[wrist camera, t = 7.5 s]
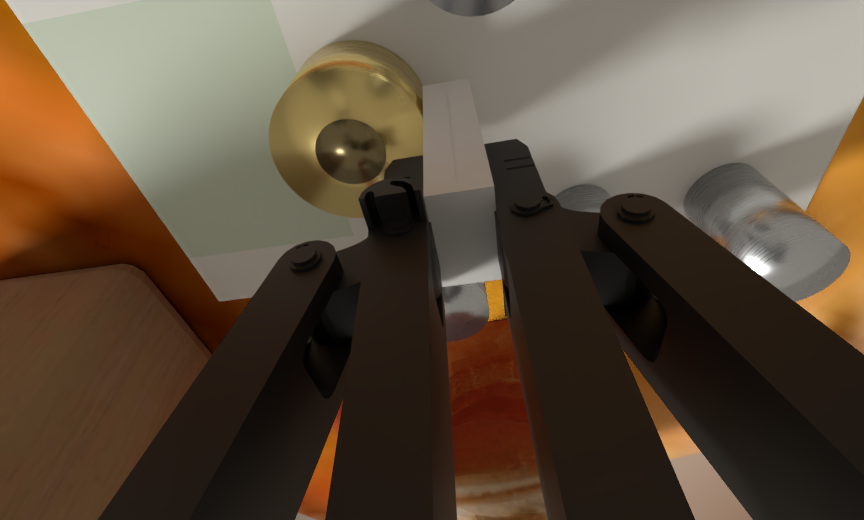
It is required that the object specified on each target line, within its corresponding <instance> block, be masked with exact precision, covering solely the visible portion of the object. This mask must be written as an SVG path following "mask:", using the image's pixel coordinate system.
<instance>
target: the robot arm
mask: <svg viewBox="0 0 864 520" xmlns="http://www.w3.org/2000/svg"><path fill="white" fill-rule="evenodd" d="M358 200H359V203H360V206H361V209H362V212H363V215H364V218H365V221H366V224H367V227H368V237H367V238H366V239H364V240H363V241H361V242H360V243H357V244H355V245H353V246H350V247H348V248H345V249H342V250H339V251H337V252H336V250H335V248H334V246H333V245H331V244H330V243H329V242H326V241H321V240H314V241H307V242H304V243H301V244H298V245H296V246H294V247H293V248H291V249H289V250H288V251H286V252H285V253H284V254H283V255H282V256H281V257H280V258H279V259H278V261H277V262H276V264H275V265H274V267H273V268H272V270H271V271H270V272H269V274H268V275H267V277H266V278H265V280H264V281H263V282H262V284H261V285H260V287H259V288H258V290H257V291H256V293H255V294H254V295H253V297H252V298H251V300H250V301H249V303H248V304H247V306H246V307H245V308H244V310H243V311H242V313H241V314H240V316H239V317H238V318H237V320H236V321H235V323H234V324H233V326H232V327H231V329H230V330H229V331H228V333H227V334H226V336H225V337H224V339H223V340H222V341H221V343H220V344H219V346H218V347H217V349H216V350H215V352H214V353H213V354H212V356H211V357H210V359H209V360H208V362H207V363H206V364H205V366H204V367H203V369H202V370H201V372H200V373H199V375H198V376H197V377H196V379H195V380H194V382H193V383H192V385H191V386H190V388H189V389H188V390H187V392H186V393H185V395H184V396H183V398H182V399H181V400H180V402H179V403H178V405H177V406H176V408H175V409H174V411H173V412H172V413H171V415H170V416H169V418H168V419H167V421H166V422H165V423H164V425H163V426H162V428H161V429H160V431H159V432H158V434H157V435H156V436H155V438H154V439H153V441H152V442H151V444H150V445H149V447H148V448H147V449H146V451H145V452H144V454H143V455H142V457H141V458H140V459H139V461H138V462H137V464H136V465H135V467H134V468H133V470H132V471H131V472H130V474H129V475H128V477H127V478H126V480H125V481H124V482H123V484H122V485H121V487H120V488H119V490H118V491H117V493H116V494H115V495H114V497H113V498H112V500H111V501H110V503H109V504H108V505H107V507H106V508H105V510H104V511H103V513H102V514H101V516H100V517H99V518H98V520H295V518H296V515H297V513H298V510H299V508H300V505H301V503H302V500H303V498H304V495H305V493H306V490H307V488H308V485H309V483H310V480H311V478H312V475H313V473H314V470H315V468H316V465H317V463H318V460H319V458H320V455H321V453H322V450H323V448H324V445H325V443H326V440H327V438H328V435H329V433H330V430H331V428H332V425H333V423H334V420H335V418H336V415H337V413H338V410H339V408H340V405H341V403H342V400H343V405H342V411H341V418H340V425H339V432H338V438H337V445H336V452H335V458H334V465H333V472H332V479H331V485H330V492H329V499H328V506H327V512H326V519H325V520H457V507H456V490H455V473H454V456H453V439H452V422H451V405H450V388H449V371H448V354H447V337H446V320H445V303H444V298H443V293H442V289H441V282H442V287H447V286H454V285H462V284H470V283H477V282H485V281H493V280H500V279H502V282H503V294H504V307H505V316H508V320H509V325H510V330H511V335H512V341H513V346H514V351H515V356H516V361H517V366H518V371H519V376H520V381H521V386H522V391H523V397H524V402H525V407H526V412H527V417H528V422H529V427H530V432H531V437H532V442H533V447H534V453H535V458H536V463H537V468H538V473H539V478H540V483H541V488H542V493H543V498H544V503H545V509H546V514H547V519H548V520H695V518H694V516H693V514H692V511H691V509H690V507H689V504H688V502H687V500H686V498H685V495H684V493H683V490H682V488H681V486H680V484H679V481H678V479H677V476H676V474H675V472H674V469H673V467H672V465H671V462H670V460H669V458H668V455H667V453H666V450H665V448H664V446H663V443H662V441H661V439H660V436H659V434H658V432H657V429H656V427H655V425H654V422H653V420H652V418H651V415H650V413H649V411H648V408H647V406H646V404H645V401H644V399H643V397H642V394H641V392H640V390H639V387H638V385H637V383H636V380H635V378H634V376H633V373H632V371H631V369H630V366H629V364H628V362H627V359H626V357H625V355H624V352H623V350H624V351H625V353H626V354H627V355H628V357H629V358H630V359H631V360H632V362H633V363H634V364H635V366H636V367H637V368H638V370H639V371H640V372H641V374H642V375H643V376H644V377H645V379H646V380H647V381H648V383H649V384H650V385H651V387H652V388H653V389H654V391H655V392H656V393H657V394H658V396H659V397H660V398H661V400H662V401H663V402H664V404H665V405H666V406H667V408H668V409H669V410H670V412H671V413H672V414H673V415H674V417H675V418H676V419H677V421H678V422H679V423H680V425H681V426H682V427H683V429H684V430H685V431H686V432H687V434H688V435H689V436H690V438H691V439H692V440H693V442H694V443H695V444H696V446H697V447H698V448H699V449H700V451H701V452H702V453H703V455H704V456H705V457H706V459H707V460H708V461H709V463H710V464H711V465H712V466H713V468H714V469H715V470H716V472H717V473H718V474H719V476H720V477H721V478H722V480H723V481H724V482H725V483H726V485H727V486H728V487H729V489H730V490H731V491H732V492H733V494H734V495H735V497H736V498H737V499H738V500H739V502H740V503H741V504H742V506H743V507H744V508H745V510H746V511H747V512H748V514H749V515H750V516H751V517H752V519H753V520H864V355H863V354H862V353H861V352H859V351H858V350H857V349H855V348H854V347H853V346H852V345H850V344H849V343H848V342H846V341H845V340H844V339H842V338H841V337H840V336H839V335H837V334H836V333H835V332H833V331H832V330H831V329H829V328H828V327H827V326H826V325H824V324H823V323H822V322H820V321H819V320H818V319H816V318H815V317H814V316H813V315H811V314H810V313H809V312H807V311H806V310H805V309H803V308H802V307H801V306H800V305H798V304H797V303H796V302H794V301H793V300H792V299H791V298H789V297H788V296H787V295H785V294H784V293H783V292H781V291H780V290H779V289H778V288H776V287H775V286H774V285H772V284H771V283H770V282H768V281H767V280H766V279H765V278H763V277H762V276H761V275H759V274H758V273H757V272H755V271H754V270H753V269H752V268H750V267H749V266H748V265H746V264H745V263H744V262H742V261H741V260H740V259H739V258H737V257H736V256H735V255H733V254H732V253H731V252H729V251H728V250H727V249H726V248H724V247H723V246H722V245H720V244H719V243H718V242H716V241H715V240H714V239H713V238H711V237H710V236H709V235H707V234H706V233H705V232H703V231H702V230H701V229H700V228H698V227H697V226H696V225H694V224H693V223H692V222H691V221H689V220H688V219H687V218H685V217H684V216H683V215H681V214H680V213H679V212H678V211H676V210H675V209H674V208H672V207H671V206H670V205H668V204H667V203H666V202H664V201H662V200H660V199H658V198H657V197H654V196H650V195H646V194H641V193H626V194H620V195H615V196H613V197H611V198H609V199H607V200H606V201H605V202H604V203H603V204H602V205H601V207H600V213H598V212H581V211H574V210H569V209H566V208H563V207H561V205H560V203H559V201H558V200H557V199H556V198H555V196H553V195H551V194H549V193H547V192H546V190H545V188H544V185H543V183H542V180H541V178H540V175H539V173H538V170H537V168H536V166H535V163H534V161H533V158H532V156H531V153H530V151H529V148H528V146H527V145H525V144H524V143H522V142H521V141H519V140H518V139H512V140H506V141H499V142H493V143H487V144H484V142H483V138H482V133H481V129H480V125H479V121H478V117H477V113H476V108H475V104H474V100H473V96H472V92H471V88H470V84H469V79H468V78H466V79H460V80H454V81H449V82H443V83H437V84H432V85H426V86H423V155H421V156H415V157H408V158H402V159H396V160H393V161H392V162H391V163H390V164H389V166H388V167H387V168H386V169H385V174H384V180H381V181H378V182H376V183H374V184H372V185H370V186H369V187H367V188H366V189H365V190H364V191H363V192H362V193H361V195H360V197H359V199H358ZM501 275H502V277H501ZM621 347H622V348H621ZM622 349H623V350H622Z"/></svg>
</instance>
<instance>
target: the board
mask: <svg viewBox="0 0 864 520" xmlns="http://www.w3.org/2000/svg"><path fill="white" fill-rule="evenodd" d="M5 1H6V2H7V4H8V5H9V6H10V8H11V9H12V11H13V12H14V13H15V15H16V16H17V18H18V19H19V21H20V22H21V23H22V25H23V26H24V28H25V29H26V30H27V32H28V33H29V35H30V36H31V37H32V39H33V40H34V42H35V43H36V44H37V46H38V47H39V49H40V50H41V51H42V53H43V54H44V56H45V57H46V59H47V60H48V61H49V63H50V64H51V66H52V67H53V68H54V70H55V71H56V73H57V74H58V75H59V77H60V78H61V80H62V81H63V82H64V84H65V85H66V87H67V88H68V89H69V91H70V92H71V94H72V95H73V97H74V98H75V99H76V101H77V102H78V104H79V105H80V106H81V108H82V109H83V111H84V112H85V113H86V115H87V116H88V118H89V119H90V120H91V122H92V123H93V125H94V126H95V128H96V129H97V130H98V132H99V133H100V135H101V136H102V137H103V139H104V140H105V142H106V143H107V144H108V146H109V147H110V149H111V150H112V151H113V153H114V154H115V156H116V157H117V158H118V160H119V161H120V163H121V164H122V166H123V167H124V168H125V170H126V171H127V173H128V174H129V175H130V177H131V178H132V180H133V181H134V182H135V184H136V185H137V187H138V188H139V189H140V191H141V192H142V194H143V195H144V197H145V198H146V199H147V201H148V202H149V204H150V205H151V206H152V208H153V209H154V211H155V212H156V213H157V215H158V216H159V218H160V219H161V220H162V222H163V223H164V225H165V226H166V227H167V229H168V230H169V232H170V233H171V235H172V236H173V237H174V239H175V240H176V242H177V243H178V244H179V246H180V247H181V249H182V250H183V251H184V253H185V254H186V256H187V257H188V258H189V260H190V261H191V263H192V264H193V266H194V267H195V268H196V270H197V271H198V273H199V274H200V275H201V277H202V278H203V280H204V281H205V282H206V284H207V285H208V287H209V288H210V289H211V291H212V292H213V294H214V295H215V296H216V298H217V299H218V301H219V302H221V301H229V300H236V299H244V298H252V297H253V295H254V294H255V293H256V291H257V290H258V288H259V287H260V285H261V284H262V282H263V281H264V280H265V278H266V277H267V275H268V274H269V272H270V271H271V270H272V268H273V267H274V265H275V264H276V262H277V261H278V259H279V258H280V257H281V256H282V255H283V254H284V253H285V252H286V251H288V250H289V249H291V248H293V247H294V246H296V245H298V244H301V243H304V242H307V241H314V240H321V241H326V242H329V243H330V244H331V245H333V246H334V248H335V250H336V252H337V251H339V250H342V249H345V248H348V247H350V246H353V245H355V244H357V243H360V242H361V241H363V240H364V239H366V238H367V237H368V227H367V224H366V221H365V218H350V217H343V216H338V215H334V214H331V213H328V212H325V211H323V210H320V209H319V208H317V207H315V206H313V205H311V204H309V203H308V202H306V201H305V200H303V199H302V198H301V197H300V196H298V195H297V194H296V193H295V192H294V191H293V190H292V189H291V188H290V187H289V186H288V184H287V183H286V182H285V181H284V180H283V178H282V176H281V175H280V173H279V172H278V170H277V168H276V166H275V163H274V161H273V158H272V155H271V151H270V146H269V125H270V120H271V117H272V113H273V111H274V109H275V107H276V104H277V103H278V101H279V100H280V98H281V97H282V95H283V94H284V92H285V91H286V89H287V88H288V86H289V84H290V83H291V81H292V80H293V78H294V77H295V75H296V74H297V72H298V71H299V69H300V68H301V66H302V65H303V63H304V62H305V61H306V60H307V59H308V58H309V57H310V56H311V55H312V54H313V53H315V52H316V51H317V50H319V49H321V48H323V47H325V46H327V45H329V44H332V43H335V42H340V41H345V40H360V41H367V42H371V43H375V44H378V45H381V46H383V47H385V48H387V49H389V50H391V51H393V52H394V53H396V54H397V55H398V56H400V57H401V58H402V59H403V60H404V61H406V62H407V63H408V64H409V65H410V67H411V68H412V69H413V70H414V71H415V73H416V74H417V76H418V77H419V79H420V81H421V83H422V85H423V86H426V85H432V84H437V83H443V82H449V81H454V80H460V79H466V78H468V79H469V84H470V88H471V92H472V96H473V100H474V104H475V108H476V113H477V117H478V121H479V125H480V129H481V133H482V138H483V142H484V144H487V143H493V142H499V141H506V140H512V139H518V140H519V141H521V142H522V143H524V144H525V145H527V146H528V148H529V151H530V153H531V156H532V158H533V161H534V163H535V166H536V168H537V170H538V173H539V175H540V178H541V180H542V183H543V185H544V188H545V190H546V192H547V193H549V194H551V195H553V196H556V195H557V194H559V193H560V192H562V191H563V190H565V189H567V188H570V187H573V186H576V185H583V184H590V185H596V186H599V187H601V188H603V189H604V190H606V191H607V192H608V193H609V195H610V196H611V197H613V196H615V195H620V194H626V193H641V194H646V195H650V196H654V197H657V198H658V199H660V200H662V201H664V202H666V203H667V204H668V205H670V206H671V207H672V208H674V209H675V210H676V211H678V212H679V213H680V214H681V215H683V216H684V217H685V218H687V219H688V220H689V221H691V220H690V219H689V218H688V216H687V215H686V214H685V211H684V207H683V204H684V199H685V196H686V194H687V192H688V190H689V189H690V187H691V186H692V185H693V184H694V183H695V182H696V181H697V180H698V179H699V178H700V177H701V176H703V175H704V174H705V173H707V172H709V171H710V170H712V169H714V168H717V167H719V166H722V165H725V164H730V163H745V164H748V165H750V166H752V167H754V168H755V169H756V170H757V171H758V172H760V173H761V174H762V175H763V176H764V177H765V178H767V179H768V180H769V181H770V182H771V183H772V184H774V185H775V186H776V187H777V188H778V189H780V190H781V191H782V192H783V193H784V194H785V195H787V196H788V197H789V198H790V199H791V200H792V201H794V202H795V203H796V204H797V205H798V206H800V207H801V208H802V209H803V210H804V211H806V209H807V207H808V205H809V203H810V201H811V199H812V197H813V195H814V193H815V191H816V189H817V187H818V185H819V183H820V181H821V179H822V177H823V175H824V173H825V171H826V169H827V168H828V166H829V164H830V162H831V160H832V158H833V156H834V154H835V152H836V150H837V148H838V146H839V144H840V142H841V140H842V138H843V136H844V134H845V132H846V130H847V128H848V126H849V124H850V122H851V120H852V118H853V116H854V114H855V112H856V110H857V109H858V107H859V105H860V103H861V101H862V99H863V97H864V0H515V1H513V2H512V3H511V4H509V5H508V6H506V7H504V8H502V9H501V10H498V11H496V12H494V13H491V14H487V15H483V16H475V17H467V16H459V15H454V14H452V13H449V12H446V11H444V10H442V9H440V8H438V7H437V6H436V5H434V4H433V3H431V2H430V1H429V0H5ZM691 222H692V221H691Z"/></svg>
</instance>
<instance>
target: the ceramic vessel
mask: <svg viewBox="0 0 864 520" xmlns="http://www.w3.org/2000/svg"><path fill="white" fill-rule="evenodd" d="M447 354H448V371H449V388H450V405H451V422H452V439H453V456H454V473H455V490H456V507H457V520H548V519H547V514H546V509H545V503H544V498H543V493H542V488H541V483H540V478H539V473H538V468H537V463H536V458H535V453H534V447H533V442H532V437H531V432H530V427H529V422H528V417H527V412H526V407H525V402H524V397H523V391H522V386H521V381H520V376H519V371H518V366H517V361H516V356H515V351H514V346H513V341H512V335H511V330H510V325H509V320H508V319H504V320H497V321H490V322H487V323H486V324H485V326H484V327H483V328H482V329H481V330H480V331H479V332H478V333H476V334H474V335H473V336H471V337H468V338H466V339H463V340H459V341H452V342H447Z"/></svg>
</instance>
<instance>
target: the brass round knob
mask: <svg viewBox="0 0 864 520" xmlns="http://www.w3.org/2000/svg"><path fill="white" fill-rule="evenodd" d="M269 146H270V151H271V155H272V158H273V161H274V163H275V166H276V168H277V170H278V172H279V173H280V175H281V176H282V178H283V180H284V181H285V182H286V183H287V184H288V186H289V187H290V188H291V189H292V190H293V191H294V192H295V193H296V194H297V195H298V196H300V197H301V198H302V199H303V200H305V201H306V202H308V203H309V204H311V205H313V206H315V207H317V208H319V209H320V210H323V211H325V212H328V213H331V214H334V215H338V216H343V217H350V218H364V215H363V212H362V209H361V206H360V203H359V200H358V199H359V197H360V195H361V193H362V192H363V191H364V190H365V189H366V188H367V187H369V186H370V185H372V184H374V183H376V182H378V181H381V180H384V174H385V169H386V168H387V167H388V166H389V164H390V163H391V162H392V161H393V160H396V159H402V158H408V157H415V156H421V155H423V85H422V83H421V81H420V79H419V77H418V76H417V74H416V73H415V71H414V70H413V69H412V68H411V67H410V65H409V64H408V63H407V62H406V61H404V60H403V59H402V58H401V57H400V56H398V55H397V54H396V53H394V52H393V51H391V50H389V49H387V48H385V47H383V46H381V45H378V44H375V43H371V42H367V41H360V40H345V41H340V42H335V43H332V44H329V45H327V46H325V47H323V48H321V49H319V50H317V51H316V52H315V53H313V54H312V55H311V56H310V57H309V58H308V59H307V60H306V61H305V62H304V63H303V65H302V66H301V68H300V69H299V71H298V72H297V74H296V75H295V77H294V78H293V80H292V81H291V83H290V84H289V86H288V88H287V89H286V91H285V92H284V94H283V95H282V97H281V98H280V100H279V101H278V103H277V104H276V107H275V109H274V111H273V113H272V117H271V120H270V125H269Z"/></svg>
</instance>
